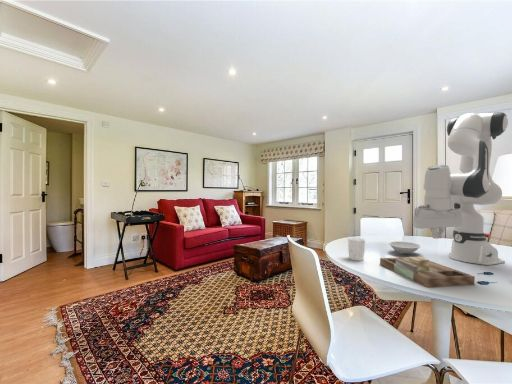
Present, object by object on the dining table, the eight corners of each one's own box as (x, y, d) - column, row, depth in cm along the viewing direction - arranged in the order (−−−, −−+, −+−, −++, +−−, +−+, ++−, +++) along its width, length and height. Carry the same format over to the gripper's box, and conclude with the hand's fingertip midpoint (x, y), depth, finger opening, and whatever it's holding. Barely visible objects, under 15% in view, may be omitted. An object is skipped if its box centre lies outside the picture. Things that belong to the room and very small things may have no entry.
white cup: (367, 258, 124) (367, 239, 123) (361, 262, 118) (361, 241, 118) (351, 255, 129) (351, 236, 129) (345, 258, 123) (345, 238, 123)
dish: (396, 248, 146) (397, 240, 145) (425, 254, 134) (425, 244, 134) (383, 253, 135) (383, 244, 134) (412, 259, 123) (412, 249, 123)
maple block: (419, 266, 103) (419, 256, 103) (429, 270, 98) (429, 260, 98) (408, 266, 103) (408, 256, 103) (417, 270, 98) (418, 260, 98)
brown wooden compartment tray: (418, 263, 118) (418, 251, 118) (474, 284, 92) (474, 269, 92) (380, 264, 114) (380, 252, 114) (427, 287, 89) (427, 272, 89)
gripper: (421, 206, 97) (421, 241, 97) (465, 204, 100) (465, 238, 100) (408, 205, 103) (409, 237, 103) (451, 203, 106) (451, 235, 107)
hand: (437, 238), depth 102 cm, fingers closed
